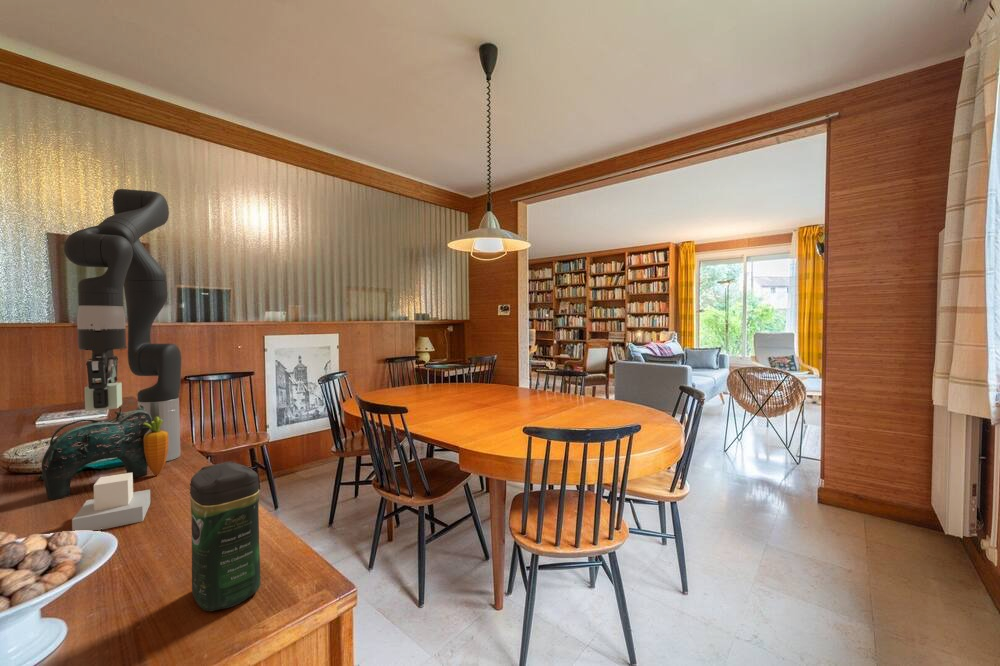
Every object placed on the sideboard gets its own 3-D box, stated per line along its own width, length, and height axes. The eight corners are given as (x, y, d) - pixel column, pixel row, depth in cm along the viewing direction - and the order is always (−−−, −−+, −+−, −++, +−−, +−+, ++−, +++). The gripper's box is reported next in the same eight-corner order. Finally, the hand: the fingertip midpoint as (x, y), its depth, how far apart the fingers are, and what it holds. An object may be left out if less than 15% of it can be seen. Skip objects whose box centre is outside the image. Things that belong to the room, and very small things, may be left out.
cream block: (100, 501, 85) (100, 477, 85) (133, 495, 88) (132, 472, 88) (94, 510, 81) (93, 485, 81) (128, 504, 84) (127, 480, 84)
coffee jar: (268, 593, 61) (266, 467, 61) (204, 622, 55) (201, 483, 55) (246, 567, 68) (243, 453, 67) (186, 591, 62) (183, 466, 61)
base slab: (87, 514, 86) (87, 500, 86) (150, 502, 91) (150, 489, 91) (72, 535, 78) (72, 519, 78) (142, 521, 83) (142, 506, 83)
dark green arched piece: (147, 470, 112) (145, 395, 111) (159, 474, 109) (157, 397, 108) (39, 498, 94) (36, 409, 94) (50, 504, 91) (47, 412, 90)
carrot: (158, 479, 105) (156, 420, 105) (139, 479, 105) (137, 419, 105) (174, 472, 110) (172, 415, 110) (155, 471, 110) (154, 415, 110)
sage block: (91, 407, 92) (91, 384, 91) (122, 404, 94) (121, 382, 94) (85, 411, 87) (84, 387, 87) (117, 408, 90) (116, 385, 90)
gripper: (87, 327, 94) (89, 402, 95) (67, 327, 82) (69, 413, 83) (131, 326, 98) (133, 398, 99) (118, 327, 86) (120, 409, 87)
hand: (104, 405), depth 91 cm, fingers closed on sage block, 5 cm apart
